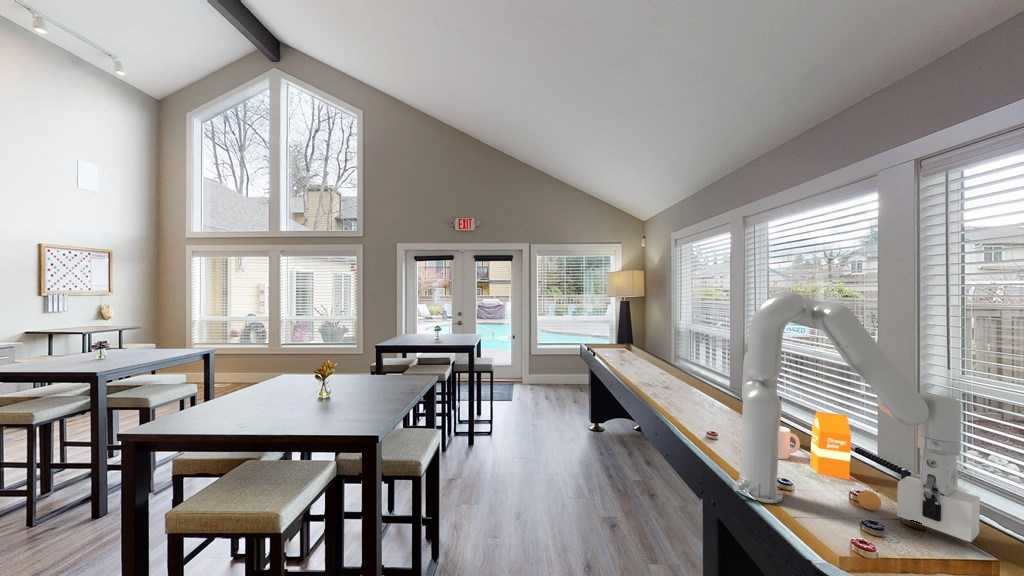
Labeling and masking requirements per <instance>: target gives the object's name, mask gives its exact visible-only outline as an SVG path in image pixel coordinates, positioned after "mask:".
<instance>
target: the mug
mask: <svg viewBox="0 0 1024 576" xmlns="http://www.w3.org/2000/svg"><path fill="white" fill-rule="evenodd" d="M791 438H793V439H794V441H795V444H794V445H795V446H794V447H793V448H790V446H791ZM800 447H801V441H800V438H799V437H798V435H796V433H793V432H791V429H790V428H788V427H785V426H782V425H780V429H779V450H778V460H780V459H786V460H788V459H789V458H790V454H794V453H796V452H797V451H798V450H799V449H800Z"/></svg>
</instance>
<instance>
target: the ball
mask: <svg viewBox="0 0 1024 576" xmlns="http://www.w3.org/2000/svg"><path fill="white" fill-rule="evenodd" d="M857 500H858V503H859V505H861V506H862V507H863V508H864V509H865V510H867V511H877V510H879V509H880V508H881V506H882V501H881V498H880V497H879V495H878V494H877V493H875V492H874V491H871V490H868V489H866V490H862V491H860V492H859V493H858V495H857Z"/></svg>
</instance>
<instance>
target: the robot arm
mask: <svg viewBox="0 0 1024 576" xmlns="http://www.w3.org/2000/svg"><path fill="white" fill-rule="evenodd" d="M789 323H791V324H792V323H793V324H796V325H798V326H802V327H806V328H810V329H814V330H818V331H822V332H823V333H824V335H825V336H826V338H827V339H828V340H829V341H830V343H831V344H832V345H833V347H834V348H835V349H836V351H837V352H838V353H839V355H840V356H841V358H842V359H843V360H844V362H845V363H846V364H847V366H849V367H850V369H851V370H852V371H853V372H854V373H856V374H857V376H860V377H861V378H862V379H863V380H864V381H865V382H866V383H867V384H868V385H869V386H870V388H871V389H872V390H873V392H875V394H876V395H877V396H876V403H877V406H878V407H879V409H880V410H881V411H882V412H883V413H884V414H886V415H887V416H889V417H891V418H893V420H895V421H896V422H898V423H901V424H903V425H906V426H912V427H913V426H917V448H918V449H921V450H922V451H921V458H920V459H921V464H920V480H921V487H922V488H923V489H924V493H923V494H924V495H923V510H922V515H923V516H924V517H926V518H929V519H932V520H935V521H938V522H940V521H941V505H939V503H940V495H941V494H944V496H949V495H950V494H952V493H953V492H954V491H956V490H957V491H958V485H959V484H958V461H957V457H958V456H959V457H960V456H961V424H962V423H961V420H962V419H961V418H962V417H961V415H962V404H961V402H960V400H958V399H957V398H955V397H952V396H948V395H943V394H934V393H919V391H918V390H917V389H916V388H915V386H914V385H913V384H912V382H911V381H910V380H909V379H908V378H907V377H906V375H905V374H904V373H903V371H901V370H900V369H899V368H898V367H897V365H896V364H895V363H894V362H893V360H891V358H890V357H889V356H888V355H887V354H886V353H885V352H884V351H883V350H882V348H881V347H880V345H879V344H878V343H877V342H876V340H875V339H874V338H873V337H872V336H871V334H870V333H869V331H868V330H867V328H865V326H864V325H863V323H862V322H861V321H860V320H859V318H858V317H857V315H856V314H855V313H854V312H853V310H851V309H850V308H849V307H848V306H846V305H844V304H841V303H837V302H836V303H835V302H833V303H832V302H825V301H820V300H815V299H813V298H812V299H811V298H808V297H803V296H802V295H800V294H799V293H797V292H793V291H783V292H781V293H780V292H779V293H777V294H775V295H774V296H771V298H769V299H767V300H765V301H764V302H762V303H761V304H760V305H759V306H758V308H757V309H756V310H755V311H754V313H753V315H752V317H751V320H750V325H749V331H748V342H747V350H746V353H745V354H744V356H743V364H742V377H741V378H742V382H741V383H742V384H741V398H742V416H741V417H742V419H741V434H740V438H741V439H740V455H739V456H740V458H739V479H736V480H735V481H734V482H736V483H737V484H734V485H733V484H732V489H733V491H734V492H736V491H740V490H745V492H746V493H749V494H750V495H751V496H753V497H754V498H756V499H757V500H758V501H757V502H759V501H760V502H761V503H766V504H777V503H778V504H779V503H781V502H782V501H783V500H784V497H783V496H784V495H783V493H782V492H781V491H780V490H779V489H777V486H778V485H777V484H778V469H779V459H778V450H779V429H780V426H781V419H782V409H783V408H782V400H781V401H780V398H779V394H778V392H777V391H778V377H779V376H780V374H781V372H782V365H783V364H782V352H783V351H782V349H783V339H784V338H783V336H784V331H785V328H786V326H787V325H789ZM933 489H937V490H938V491H935V490H933ZM933 493H935V494H937V495H936V498H935V495H933Z"/></svg>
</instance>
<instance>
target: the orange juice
mask: <svg viewBox="0 0 1024 576" xmlns="http://www.w3.org/2000/svg"><path fill="white" fill-rule="evenodd" d="M848 419H849V418H848V415H847V414H839V413H832V412H823V411H816V412H815V416H814V418H813V422H812V424H811V443H810V465H811V466H812V467H813V468H812V467H811V466H810V467H811V468H812V469H813V471H814V470H815V471H816V472H817V473H818V474H817V473H816V472H815V471H814V472H815V473H816V474H817V475H820V474H822V476H827V477H834V478H837V479H838V478H839V479H845V480H850V466H851V449H852V447H851V446H852V434H851V427H850V424H849V420H848Z"/></svg>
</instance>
